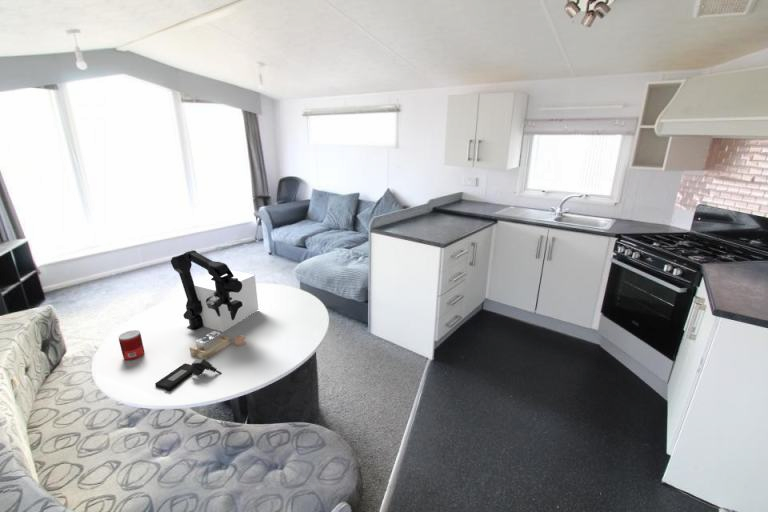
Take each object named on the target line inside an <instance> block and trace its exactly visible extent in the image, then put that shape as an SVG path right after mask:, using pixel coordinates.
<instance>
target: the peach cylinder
mask: <svg viewBox="0 0 768 512" xmlns="http://www.w3.org/2000/svg"><path fill="white" fill-rule="evenodd" d="M233 342H234V343H233V344H234V346H235V347H241V346H243V345H245V344H246V342H247V341H246V336H245V335H243V334H241V335H240V334H239V335H237V336H235V337H233Z"/></svg>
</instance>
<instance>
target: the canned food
mask: <svg viewBox="0 0 768 512" xmlns="http://www.w3.org/2000/svg"><path fill="white" fill-rule="evenodd" d="M142 339H143V338H142V334H141V332H140V330H137V329H135V330H134V329H133V330H129V331H125V332H123V333H121V334H120V335H119V336H118V342H119V347H120V350H121V353H122V357H123V359H124V360H126V361H133V360H136V359H139V358H141V357H142V356H143V355H144V354H145V348H144V343H143V340H142Z"/></svg>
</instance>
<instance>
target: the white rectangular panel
mask: <svg viewBox="0 0 768 512" xmlns="http://www.w3.org/2000/svg"><path fill="white" fill-rule="evenodd" d="M230 271H231V272H232V274H233V275H234V277H232V278H238V281H240V282H241V283H242V289H241V291H240V292H238V293H235V292H229V295H230V297H232V300H230V302H232V301H234V300H238V301H241V302H242V305H243V306H242V307H240V308H239V309H238V311H237V313H236V316H235V319H234V320H232V319H231V314H230V311H228V308H227V305H225V304H222V305H221V306H220V307H218V308H219V312H220V317H219V316H218V315H217V313H216V311H215V310H213V309H209V308H208V306H207V304H206V299H207V298H209V297H211V296H212V297H213V296H214V292H216V288H215V281H213V280H211V279H212V278H213V276H211V275H210V274H209V275H208V276H205V277H203V278H200V279H197V280H193V282H194V287H195V291H196V294H197V297H198V300H199V301H200V300H201V305H202V307H203V308H202V313H200V316H201V317H202V320H203V327H205V328H208V329H212V330H213V331H217V332H220V333H224V332H225V331H227V330H228V329H230V328H232V327H234V326H235V325H237V324H239V323H241V322H242V321H244V320H246V319H247V318H249V317H250V316H252V315H253V314H252V313H254V312H256V311H257V310H260V309H259V302H258V294H257V293H258V292H257V283H256V275H255V274H251V273H248V272H241V271H238V270H237V271H236V270H230ZM226 275H228V274H226ZM226 275H223V276H226ZM223 276H221V277H223ZM257 312H258V311H257ZM257 312H256V313H257ZM251 314H252V315H251ZM254 314H255V313H254ZM249 315H250V316H249ZM248 316H249V317H248ZM246 317H247V318H246ZM243 319H244V320H243ZM238 322H239V323H238Z"/></svg>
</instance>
